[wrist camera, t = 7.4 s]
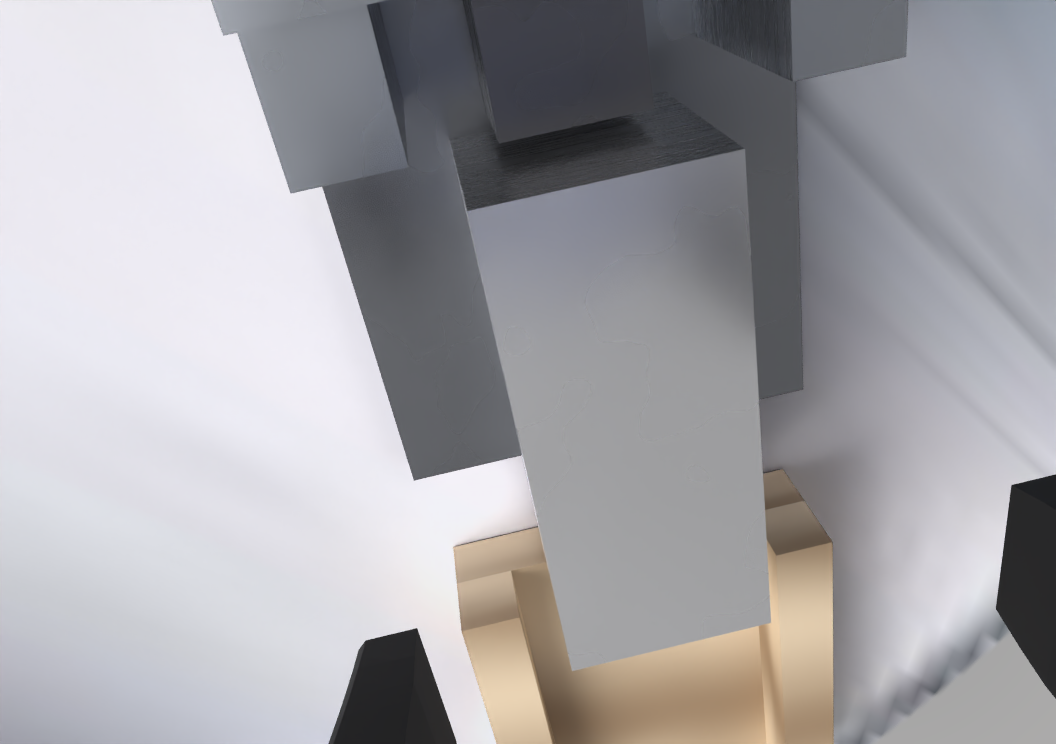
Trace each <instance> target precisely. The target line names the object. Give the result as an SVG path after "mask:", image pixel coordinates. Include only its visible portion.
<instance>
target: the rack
mask: <svg viewBox="0 0 1056 744" xmlns="http://www.w3.org/2000/svg"><path fill="white" fill-rule="evenodd" d="M763 483H764V501H765V519H766V537H767V555H768V573H769V591H770V609H771V623H768V624H764V625H760V626H756V627H752V628H748V629H743V630H739V631H735V632H731V633H727V634H723V635H719V636H715V637H711V638H706V639H702V640H698V641H694V642H690V643H686V644H682V645H678V646H674V647H669V648H665V649H661V650H657V651H653V652H649V653H645V654H641V655H636V656H632V657H628V658H624V659H620V660H616V661H612V662H608V663H604V664H599V665H595V666H591V667H587V668H583V669H579V670H575V671H572V669H571V664H570V660H569V656H568V652H567V648H566V643H565V639H564V635H563V631H562V626H561V622H560V618H559V614H558V609H557V605H556V601H555V597H554V592H553V588H552V584H551V580H550V575H549V571H548V567H547V563H546V559H545V554H544V550H543V546H542V542H541V537H540V533H539V529H538V527H536V528H532V529H528V530H523V531H519V532H515V533H511V534H507V535H502V536H498V537H494V538H490V539H486V540H481V541H477V542H473V543H469V544H464V545H460V546H456V547H453V549H454V559H455V569H456V579H457V589H458V599H459V609H460V619H461V630H462V634H463V637H464V640H465V644H466V647H467V650H468V653H469V656H470V660H471V663H472V666H473V669H474V672H475V676H476V679H477V682H478V685H479V689H480V692H481V695H482V698H483V701H484V705H485V708H486V711H487V714H488V717H489V721H490V724H491V727H492V730H493V733H494V737H495V740H496V743H497V744H834V739H833V542H832V541H831V539H830V538H829V536H828V535H827V533H826V532H825V530H824V529H823V527H822V526H821V525H820V523H819V522H818V520H817V519H816V517H815V516H814V514H813V513H812V511H811V510H810V508H809V507H808V506H807V504H806V503H805V501H804V500H803V498H802V497H801V495H800V494H799V492H798V491H797V489H796V488H795V487H794V485H793V484H792V482H791V481H790V479H789V478H788V476H787V475H786V473H785V472H784V470H783V469H781V470H776V471H772V472H768V473H764V474H763Z"/></svg>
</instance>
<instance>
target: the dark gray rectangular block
mask: <svg viewBox="0 0 1056 744" xmlns="http://www.w3.org/2000/svg"><path fill="white" fill-rule="evenodd" d="M464 5H465V10H466V15H467V20H468V25H469V30H470V35H471V40H472V45H473V50H474V54H475V59H476V64H477V69H478V74H479V79H480V84H481V89H482V94H483V99H484V104H485V108H486V113H487V117H488V120H489V122H490V124H491V126H492V129H493V131H494V133H495V136H496V138H497V140H498V142H499V143H504V142H508V141H513V140H517V139H522V138H526V137H531V136H535V135H540V134H544V133H549V132H553V131H558V130H562V129H567V128H571V127H576V126H580V125H585V124H589V123H594V122H598V121H603V120H607V119H612V118H616V117H621V116H625V115H630V114H634V113H639V112H643V111H648V110H652V109H654V102H653V93H652V83H651V74H650V65H649V55H648V46H647V37H646V27H645V18H644V8H643V0H464Z"/></svg>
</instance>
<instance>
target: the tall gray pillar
mask: <svg viewBox="0 0 1056 744" xmlns="http://www.w3.org/2000/svg"><path fill="white" fill-rule="evenodd" d="M653 102H654V109H652V110H648V111H643V112H639V113H634V114H630V115H625V116H621V117H616V118H612V119H607V120H603V121H598V122H594V123H589V124H585V125H580V126H576V127H571V128H567V129H562V130H558V131H553V132H549V133H544V134H540V135H535V136H531V137H526V138H522V139H517V140H513V141H508V142H504V143H499V142H498V140H497V138H496V136H495V133H494V131H493V130H492V131H488V132H483V133H479V134H474V135H470V136H465V137H461V138H456V139H452V140H450V144H451V148H452V152H453V157H454V161H455V166H456V170H457V174H458V179H459V183H460V187H461V192H462V196H463V201H464V205H465V209H466V214H467V218H468V222H469V227H470V231H471V236H472V240H473V244H474V249H475V253H476V257H477V262H478V266H479V271H480V275H481V279H482V284H483V288H484V292H485V297H486V301H487V306H488V310H489V314H490V319H491V323H492V327H493V332H494V336H495V341H496V345H497V349H498V354H499V358H500V362H501V367H502V371H503V376H504V380H505V384H506V389H507V393H508V397H509V402H510V406H511V411H512V415H513V419H514V424H515V428H516V432H517V437H518V441H519V446H520V450H521V454H522V459H523V463H524V467H525V472H526V476H527V480H528V485H529V489H530V494H531V498H532V502H533V507H534V511H535V515H536V520H537V524H538V529H539V533H540V537H541V542H542V546H543V550H544V554H545V559H546V563H547V567H548V571H549V575H550V580H551V584H552V588H553V592H554V597H555V601H556V605H557V609H558V614H559V618H560V622H561V626H562V631H563V635H564V639H565V643H566V648H567V652H568V656H569V660H570V664H571V669H572V671H575V670H579V669H583V668H587V667H591V666H595V665H599V664H604V663H608V662H612V661H616V660H620V659H624V658H628V657H632V656H636V655H641V654H645V653H649V652H653V651H657V650H661V649H665V648H669V647H674V646H678V645H682V644H686V643H690V642H694V641H698V640H702V639H706V638H711V637H715V636H719V635H723V634H727V633H731V632H735V631H739V630H743V629H748V628H752V627H756V626H760V625H764V624H768V623H771V609H770V591H769V573H768V555H767V537H766V519H765V501H764V483H763V465H762V447H761V429H760V411H759V393H758V375H757V357H756V339H755V321H754V303H753V285H752V267H751V249H750V231H749V213H748V195H747V177H746V159H745V149H744V148H743V147H742V146H740V145H739V144H737V143H736V142H735V141H733V140H732V139H730V138H729V137H728V136H726V135H725V134H724V133H722V132H721V131H719V130H718V129H717V128H715V127H714V126H712V125H711V124H710V123H708V122H707V121H705V120H704V119H703V118H701V117H700V116H698V115H697V114H696V113H694V112H693V111H692V110H690V109H689V108H687V107H686V106H685V105H683V104H682V103H680V102H679V101H678V100H676V99H675V98H673V97H672V96H671V95H669V94H668V93H667V92H664V93H659V94H655V95H653Z"/></svg>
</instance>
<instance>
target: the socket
mask: <svg viewBox="0 0 1056 744" xmlns="http://www.w3.org/2000/svg"><path fill="white" fill-rule="evenodd" d="M211 1H212V4H213V7H214V10H215V13H216V16H217V19H218V22H219V25H220V27H221V30H222V33H223V36H224V35H228V34H233V33H238V36H239V39H240V42H241V45H242V48H243V51H244V54H245V57H246V60H247V63H248V66H249V69H250V72H251V75H252V78H253V81H254V84H255V87H256V90H257V93H258V96H259V99H260V102H261V105H262V108H263V111H264V114H265V117H266V120H267V123H268V126H269V129H270V132H271V135H272V138H273V141H274V144H275V148H276V151H277V154H278V157H279V160H280V163H281V166H282V169H283V172H284V175H285V178H286V181H287V184H288V187H289V190H290V193H295V192H299V191H304V190H308V189H313V188H317V187H323V190H324V193H325V197H326V200H327V203H328V206H329V209H330V213H331V216H332V219H333V222H334V225H335V229H336V232H337V235H338V238H339V241H340V245H341V248H342V251H343V254H344V257H345V261H346V264H347V267H348V270H349V273H350V277H351V280H352V283H353V286H354V289H355V293H356V296H357V299H358V302H359V306H360V309H361V312H362V315H363V318H364V322H365V325H366V328H367V331H368V334H369V338H370V341H371V344H372V347H373V350H374V354H375V357H376V360H377V363H378V366H379V370H380V373H381V376H382V379H383V382H384V386H385V389H386V392H387V395H388V398H389V402H390V405H391V408H392V411H393V415H394V418H395V421H396V424H397V427H398V431H399V434H400V437H401V440H402V443H403V447H404V450H405V453H406V456H407V459H408V463H409V466H410V469H411V472H412V475H413V479H414V480H418V479H422V478H427V477H431V476H435V475H439V474H444V473H448V472H452V471H456V470H461V469H465V468H469V467H474V466H478V465H482V464H486V463H491V462H495V461H499V460H503V459H508V458H512V457H516V456H521V455H522V454H521V450H520V446H519V441H518V437H517V432H516V428H515V424H514V419H513V415H512V411H511V406H510V402H509V397H508V393H507V389H506V384H505V380H504V376H503V371H502V367H501V362H500V358H499V354H498V349H497V345H496V341H495V336H494V332H493V327H492V323H491V319H490V314H489V310H488V306H487V301H486V297H485V292H484V288H483V284H482V279H481V275H480V271H479V266H478V262H477V257H476V253H475V249H474V244H473V240H472V236H471V231H470V227H469V222H468V218H467V214H466V209H465V205H464V201H463V196H462V192H461V187H460V183H459V179H458V174H457V170H456V166H455V161H454V157H453V152H452V148H451V144H450V140H452V139H456V138H461V137H465V136H470V135H474V134H479V133H483V132H488V131H492V130H493V129H492V126H491V124H490V122H489V120H488V117H487V113H486V108H485V104H484V99H483V94H482V89H481V84H480V79H479V74H478V69H477V64H476V59H475V54H474V50H473V45H472V40H471V35H470V30H469V25H468V20H467V15H466V10H465V5H464V0H211ZM643 8H644V18H645V27H646V37H647V46H648V55H649V65H650V74H651V83H652V93H653V95H655V94H659V93H664V92H667V93H668V94H669V95H671V96H672V97H673V98H675V99H676V100H678V101H679V102H680V103H682V104H683V105H685V106H686V107H687V108H689V109H690V110H692V111H693V112H694V113H696V114H697V115H698V116H700V117H701V118H703V119H704V120H705V121H707V122H708V123H710V124H711V125H712V126H714V127H715V128H717V129H718V130H719V131H721V132H722V133H724V134H725V135H726V136H728V137H729V138H730V139H732V140H733V141H735V142H736V143H737V144H739V145H740V146H742V147H743V148H744V149H745V159H746V177H747V195H748V213H749V231H750V249H751V267H752V285H753V303H754V321H755V339H756V357H757V375H758V393H759V400H760V399H764V398H768V397H772V396H777V395H781V394H785V393H789V392H794V391H798V390H802V389H803V363H802V322H801V282H800V241H799V200H798V160H797V119H796V81H799V80H803V79H808V78H812V77H817V76H821V75H826V74H830V73H835V72H839V71H844V70H848V69H853V68H857V67H862V66H866V65H871V64H875V63H880V62H884V61H889V60H893V59H898V58H902V57H906V42H907V15H908V0H643Z"/></svg>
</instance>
